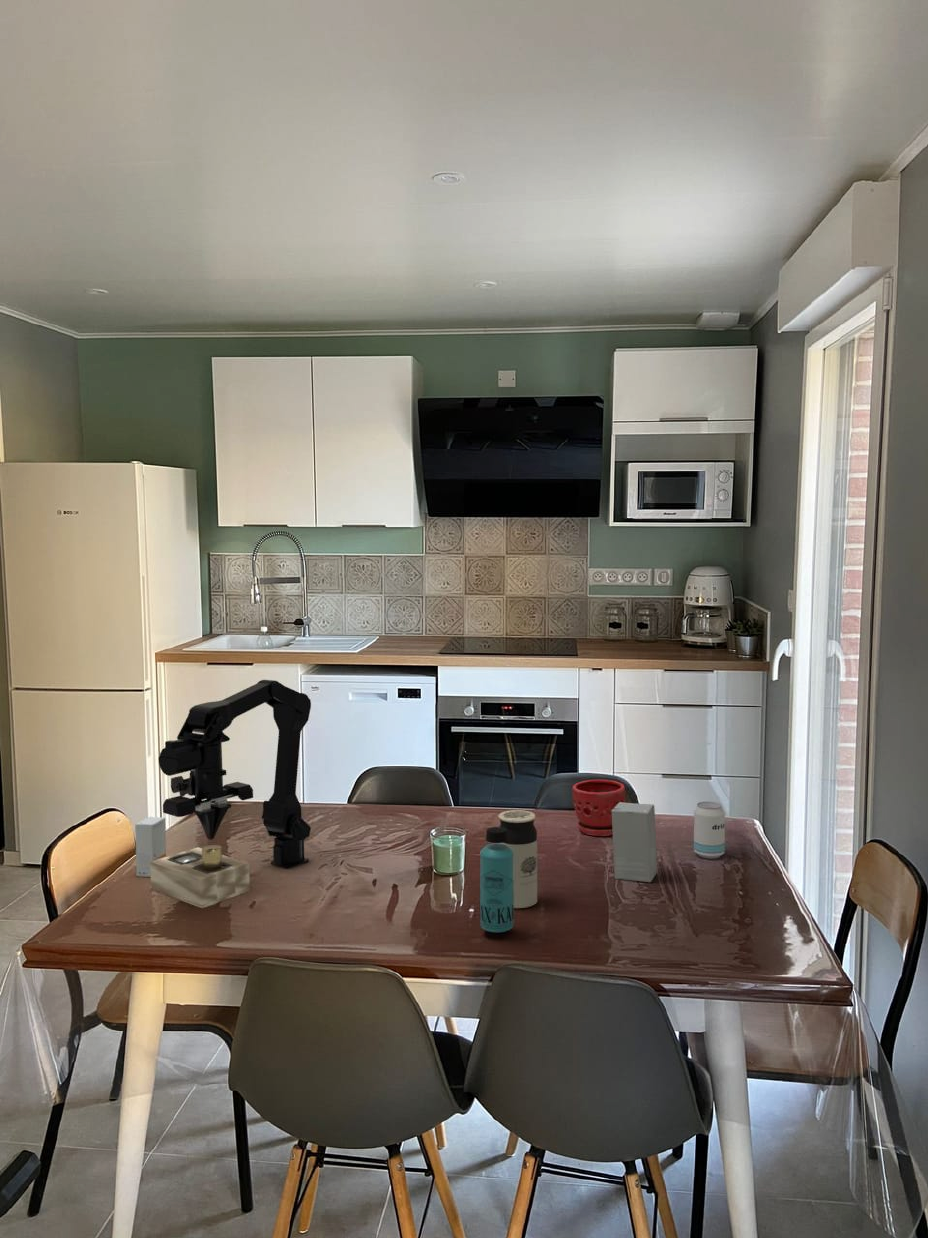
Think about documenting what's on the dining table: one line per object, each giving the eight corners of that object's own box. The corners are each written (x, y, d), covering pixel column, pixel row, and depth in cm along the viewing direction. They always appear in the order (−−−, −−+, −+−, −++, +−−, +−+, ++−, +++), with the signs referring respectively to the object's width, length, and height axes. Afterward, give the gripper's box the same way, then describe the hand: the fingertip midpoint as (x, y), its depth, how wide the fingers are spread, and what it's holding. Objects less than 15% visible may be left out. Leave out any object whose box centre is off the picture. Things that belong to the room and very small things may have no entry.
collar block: (198, 873, 207) (197, 847, 207) (249, 891, 196) (248, 863, 195) (151, 889, 198) (150, 861, 197) (201, 908, 186) (200, 879, 186)
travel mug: (491, 898, 190) (490, 812, 189) (526, 892, 193) (525, 807, 192) (508, 912, 183) (507, 822, 181) (544, 905, 186) (543, 817, 184)
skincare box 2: (657, 874, 203) (657, 803, 202) (649, 885, 196) (649, 812, 195) (619, 869, 206) (619, 799, 205) (611, 879, 200) (611, 807, 199)
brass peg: (214, 867, 196) (213, 844, 196) (226, 870, 194) (225, 847, 194) (198, 872, 193) (197, 848, 193) (210, 876, 191) (209, 852, 190)
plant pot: (588, 821, 243) (587, 776, 243) (633, 829, 236) (633, 783, 235) (563, 833, 233) (563, 786, 232) (610, 842, 225) (610, 794, 224)
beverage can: (713, 862, 210) (713, 810, 209) (687, 855, 215) (688, 804, 214) (730, 855, 214) (730, 805, 214) (704, 848, 220) (705, 799, 219)
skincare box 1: (153, 878, 205) (151, 825, 204) (136, 876, 205) (134, 824, 205) (167, 868, 211) (165, 817, 210) (150, 867, 211) (148, 816, 211)
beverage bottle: (478, 927, 175) (476, 824, 174) (512, 925, 176) (511, 822, 174) (481, 941, 169) (480, 834, 167) (517, 940, 169) (516, 833, 168)
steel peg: (190, 877, 202) (189, 854, 202) (201, 880, 200) (200, 858, 199) (174, 882, 199) (173, 859, 199) (185, 886, 197) (184, 863, 196)
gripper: (222, 752, 204) (224, 822, 206) (146, 768, 190) (149, 843, 191) (253, 759, 197) (255, 831, 199) (177, 776, 183) (180, 853, 184)
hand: (210, 839), depth 193 cm, fingers closed
